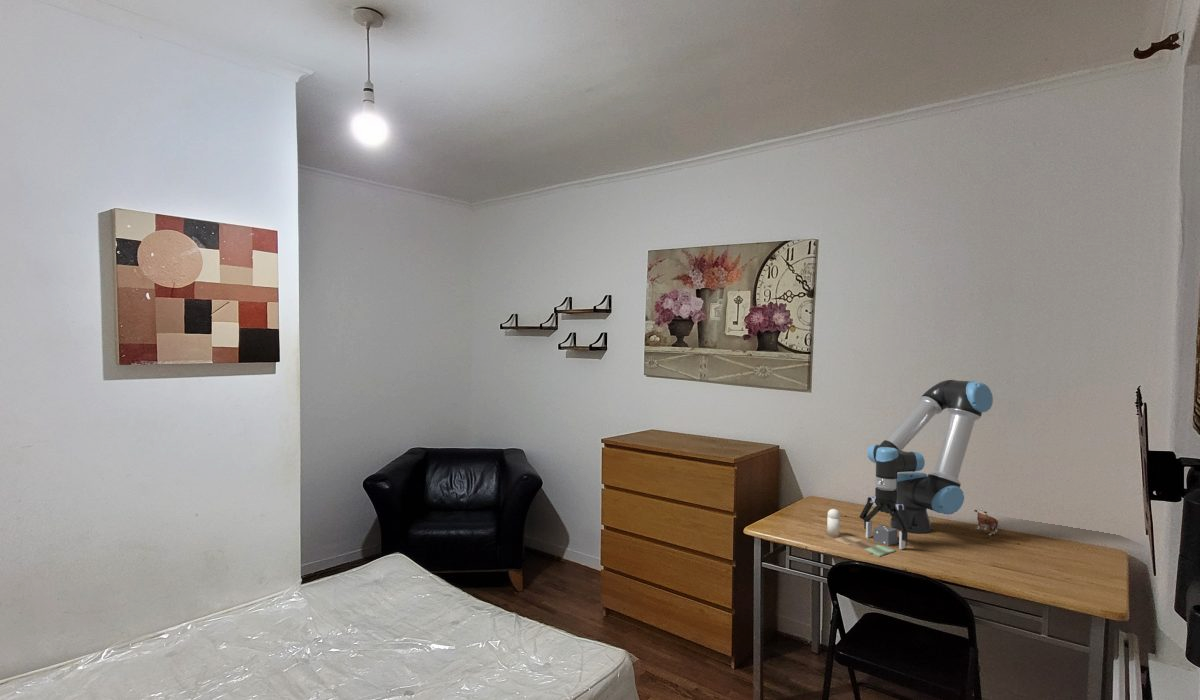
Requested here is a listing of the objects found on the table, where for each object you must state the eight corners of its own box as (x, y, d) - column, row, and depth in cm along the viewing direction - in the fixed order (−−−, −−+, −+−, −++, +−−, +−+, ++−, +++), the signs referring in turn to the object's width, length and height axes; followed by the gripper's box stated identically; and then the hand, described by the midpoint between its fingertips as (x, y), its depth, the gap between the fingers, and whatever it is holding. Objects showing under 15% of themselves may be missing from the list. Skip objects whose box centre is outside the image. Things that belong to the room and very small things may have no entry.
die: (882, 540, 232) (882, 524, 232) (897, 544, 227) (897, 528, 227) (873, 543, 229) (873, 527, 229) (887, 547, 224) (888, 531, 224)
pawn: (831, 532, 239) (832, 506, 239) (842, 535, 235) (842, 509, 235) (824, 534, 237) (825, 508, 237) (834, 537, 233) (835, 511, 233)
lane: (834, 532, 241) (834, 530, 241) (895, 551, 220) (895, 549, 220) (818, 536, 236) (818, 534, 236) (879, 556, 214) (879, 554, 214)
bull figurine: (982, 526, 251) (982, 507, 251) (1000, 537, 237) (1000, 517, 237) (971, 526, 251) (971, 507, 251) (988, 536, 238) (989, 516, 238)
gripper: (851, 482, 236) (849, 535, 237) (912, 496, 215) (911, 555, 216) (862, 480, 240) (861, 532, 241) (923, 494, 219) (922, 551, 220)
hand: (884, 543), depth 228 cm, fingers open, 13 cm apart
